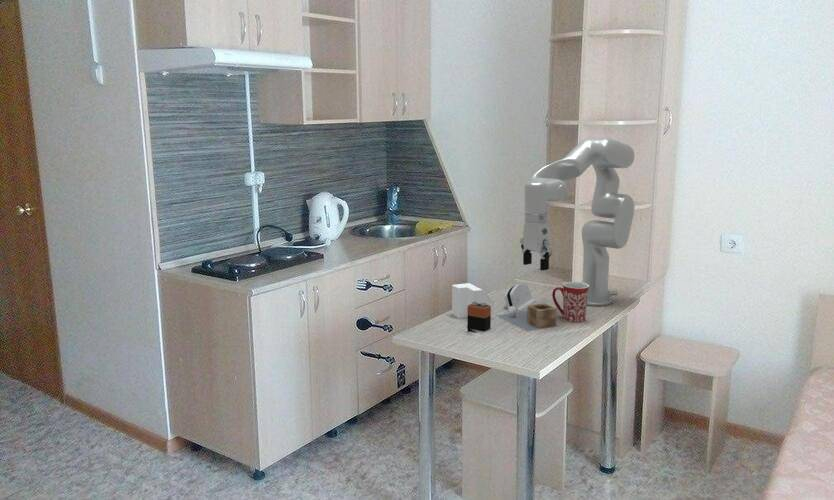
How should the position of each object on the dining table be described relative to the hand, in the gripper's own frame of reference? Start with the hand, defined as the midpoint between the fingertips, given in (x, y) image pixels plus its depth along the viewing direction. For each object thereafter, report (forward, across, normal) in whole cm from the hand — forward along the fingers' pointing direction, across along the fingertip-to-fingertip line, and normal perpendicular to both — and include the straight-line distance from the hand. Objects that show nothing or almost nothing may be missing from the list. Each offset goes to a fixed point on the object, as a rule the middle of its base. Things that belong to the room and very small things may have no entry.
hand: (535, 267), depth 232 cm
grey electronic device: (+20, +17, -5) cm, 27 cm away
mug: (+20, -6, -10) cm, 23 cm away
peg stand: (+19, -1, +4) cm, 20 cm away
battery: (+19, 0, +23) cm, 30 cm away
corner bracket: (+19, +12, +18) cm, 29 cm away
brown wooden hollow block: (+18, -7, +3) cm, 20 cm away
